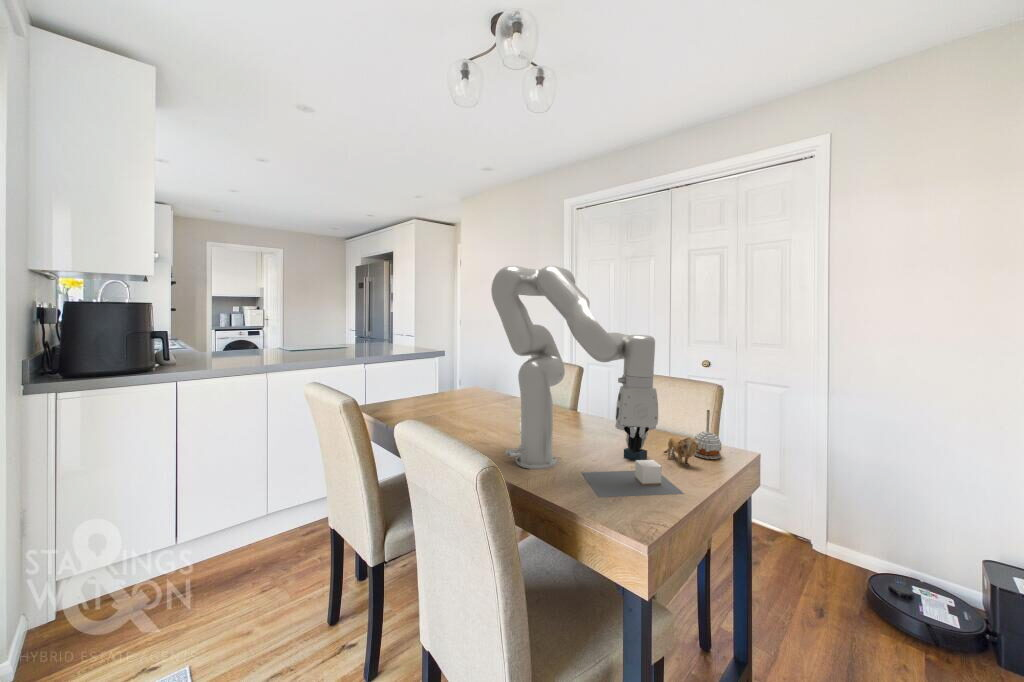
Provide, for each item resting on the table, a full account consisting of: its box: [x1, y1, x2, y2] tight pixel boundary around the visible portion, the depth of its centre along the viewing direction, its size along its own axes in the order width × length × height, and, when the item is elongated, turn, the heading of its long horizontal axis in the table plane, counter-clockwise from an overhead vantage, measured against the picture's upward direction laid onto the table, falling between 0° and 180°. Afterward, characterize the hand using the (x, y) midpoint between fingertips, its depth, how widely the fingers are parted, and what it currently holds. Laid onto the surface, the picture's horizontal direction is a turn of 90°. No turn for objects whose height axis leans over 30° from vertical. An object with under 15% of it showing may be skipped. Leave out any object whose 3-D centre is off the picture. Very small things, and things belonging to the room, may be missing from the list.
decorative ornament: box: [694, 409, 722, 460], centre depth 132 cm, size 8×8×15 cm
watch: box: [623, 427, 649, 462], centre depth 129 cm, size 6×8×11 cm
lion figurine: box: [663, 436, 701, 468], centre depth 127 cm, size 15×5×9 cm, turn 16°
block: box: [634, 459, 663, 486], centre depth 110 cm, size 5×5×5 cm
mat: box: [580, 470, 685, 498], centre depth 110 cm, size 22×16×1 cm
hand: (634, 450), depth 110 cm, fingers closed
